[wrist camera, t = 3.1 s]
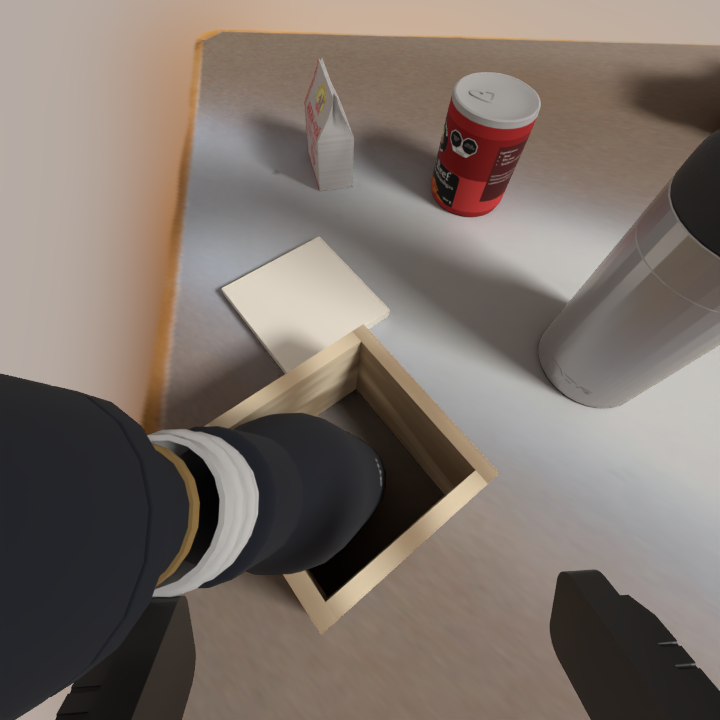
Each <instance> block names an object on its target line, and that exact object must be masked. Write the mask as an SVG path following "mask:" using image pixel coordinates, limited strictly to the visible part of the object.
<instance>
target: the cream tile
mask: <svg viewBox="0 0 720 720" xmlns="http://www.w3.org/2000/svg"><path fill="white" fill-rule="evenodd" d="M221 289H222V291H223V294H224V296H225V297H226V298H227V300H228V301H229V302H230V303H231V305H232V306H233V307H234V309H235V310H236V311H237V312H238V314H239V315H240V316H241V318H242V319H243V320H244V322H245V323H246V324H247V325H248V327H249V328H250V329H251V331H252V332H253V333H254V334H255V336H256V337H257V338H258V340H259V341H260V342H261V343H262V345H263V346H264V347H265V349H266V350H267V351H268V353H269V354H270V355H271V356H272V358H273V359H274V360H275V362H276V363H277V364H278V365H279V367H280V368H281V369H282V371H283V372H284V373H285V374H286V373H288V372H289V371H291V370H292V369H294V368H296V367H297V366H299V365H300V364H302V363H303V362H305V361H307V360H308V359H310V358H311V357H313V356H314V355H316V354H317V353H319V352H321V351H322V350H324V349H325V348H327V347H328V346H330V345H331V344H333V343H335V342H336V341H338V340H339V339H341V338H342V337H344V336H346V335H347V334H349V333H350V332H352V331H353V330H355V329H356V328H358V327H360V326H361V325H363V324H364V325H365V326H366V327H367V328H368V329H370V328H371V327H373V326H374V325H376V324H377V323H379V322H380V321H382V320H383V319H385V318H387V317H388V316H389V312H390V309H389V308H388V307H387V306H386V305H385V304H384V303H383V302H382V301H381V300H380V299H379V298H378V297H377V296H376V295H375V294H374V293H373V292H372V291H371V290H370V289H369V288H368V286H367V285H366V284H365V283H364V282H363V281H362V280H361V279H360V278H359V277H358V276H357V275H356V274H355V273H354V272H353V271H352V270H351V269H350V268H349V267H348V266H347V265H346V263H345V262H344V261H343V260H342V259H341V258H340V257H339V256H338V255H337V254H336V253H335V252H334V251H333V250H332V249H331V248H330V247H329V246H328V245H327V244H326V243H325V242H324V240H323V239H322V238H321V237H320V236H319V237H317V238H315V239H313V240H311V241H309V242H307V243H306V244H304V245H302V246H300V247H298V248H296V249H294V250H292V251H290V252H289V253H287V254H285V255H283V256H281V257H279V258H277V259H275V260H274V261H272V262H270V263H268V264H266V265H264V266H262V267H260V268H259V269H257V270H255V271H253V272H251V273H249V274H247V275H245V276H244V277H242V278H240V279H238V280H236V281H234V282H232V283H230V284H229V285H227V286H225V287H223V288H221Z"/></svg>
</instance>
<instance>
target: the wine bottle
mask: <svg viewBox="0 0 720 720" xmlns="http://www.w3.org/2000/svg"><path fill="white" fill-rule="evenodd" d="M385 487H386V479H385V470H384V467H383V464H382V462H381V459H380V457H379V456H378V455H377V453H376V452H375V451H374V450H373V448H372V447H370V446H369V445H367V444H366V443H365V442H363V441H362V440H360V439H358V438H356V437H355V436H353V435H351V434H349V433H348V432H346V431H344V430H342V429H341V428H339V427H337V426H335V425H334V424H332V423H330V422H328V421H327V420H325V419H322V418H319V417H315V416H312V415H309V414H305V413H281V414H271V415H267V416H264V417H260V418H257V419H255V420H252V421H249V422H247V423H244V424H241V425H239V426H238V427H236V428H235V429H229V428H224V427H220V426H208V427H194V428H191V429H188V430H187V429H170V430H160V431H157V432H155V433H152V434H149V435H146V433H145V431H144V430H143V428H142V426H141V425H139V424H138V423H137V422H136V421H134V420H133V419H132V418H131V417H129V416H128V415H127V414H126V413H124V412H123V411H122V410H121V409H119V408H118V407H117V406H116V405H114V404H113V403H112V402H109V401H106V400H103V399H100V398H96V397H93V396H90V395H87V394H84V393H81V392H77V391H73V390H69V389H65V388H60V387H56V386H51V385H47V384H43V383H39V382H34V381H30V380H26V379H22V378H17V377H13V376H9V375H4V374H0V720H15V719H17V718H18V717H20V716H22V715H23V714H25V713H27V712H28V711H30V710H31V709H33V708H34V707H36V706H38V705H39V704H41V703H42V702H44V701H45V700H46V699H48V698H49V697H52V696H53V695H55V694H57V693H58V692H60V691H61V690H63V689H64V688H66V687H68V686H69V685H71V684H72V683H74V682H76V681H77V680H78V679H80V678H81V677H82V676H84V675H85V674H86V673H87V672H89V671H90V670H91V669H92V668H94V667H95V666H96V665H97V664H99V663H100V662H101V661H102V660H104V659H105V658H106V657H107V656H109V655H110V654H111V653H112V652H114V651H115V650H116V649H117V648H119V646H120V645H121V643H122V642H123V641H124V639H125V638H126V636H127V635H128V634H129V632H130V631H131V629H132V628H133V626H134V625H135V624H136V622H137V621H138V619H139V618H140V617H141V615H142V614H143V612H144V611H145V609H146V608H147V607H148V605H149V604H150V601H151V598H152V597H174V596H177V595H180V594H183V593H185V592H188V591H191V590H194V589H196V588H210V587H213V586H215V585H218V584H221V583H224V582H226V581H229V580H232V579H234V578H235V577H237V576H238V575H240V574H242V573H243V572H245V571H247V572H250V573H252V574H255V575H283V574H294V573H298V572H302V571H304V570H307V569H310V568H313V567H315V566H318V565H321V564H324V563H325V562H327V561H328V560H329V559H330V558H331V557H333V556H334V555H335V554H336V553H338V552H339V551H340V550H341V549H343V548H344V547H345V546H346V545H347V543H348V542H349V541H350V540H351V539H352V538H353V536H354V535H355V534H356V533H357V532H358V531H359V529H360V528H361V527H362V526H363V525H364V523H365V522H366V521H367V520H368V519H369V518H370V516H371V515H372V514H373V513H374V512H375V510H376V509H377V507H378V506H379V504H380V502H381V501H382V498H383V495H384V491H385Z"/></svg>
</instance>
